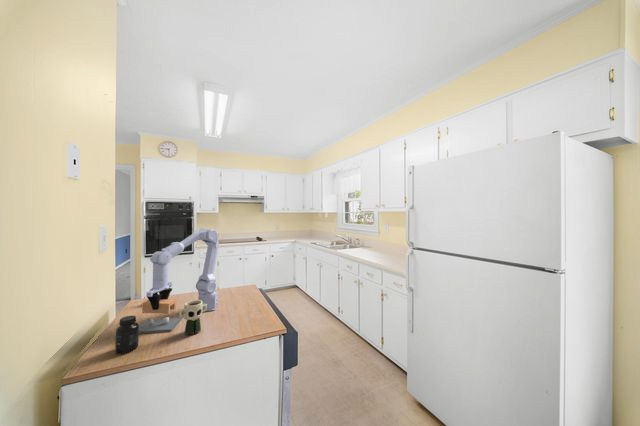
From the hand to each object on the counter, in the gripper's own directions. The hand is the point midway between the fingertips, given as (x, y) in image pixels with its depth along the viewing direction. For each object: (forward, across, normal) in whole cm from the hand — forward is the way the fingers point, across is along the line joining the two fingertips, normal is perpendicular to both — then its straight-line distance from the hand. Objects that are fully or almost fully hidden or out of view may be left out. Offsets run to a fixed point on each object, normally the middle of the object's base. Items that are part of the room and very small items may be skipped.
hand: (159, 306), depth 106 cm
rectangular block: (+2, 0, 0) cm, 2 cm away
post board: (+9, 0, 0) cm, 9 cm away
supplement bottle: (+9, -18, 0) cm, 20 cm away
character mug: (+9, -5, -18) cm, 21 cm away
